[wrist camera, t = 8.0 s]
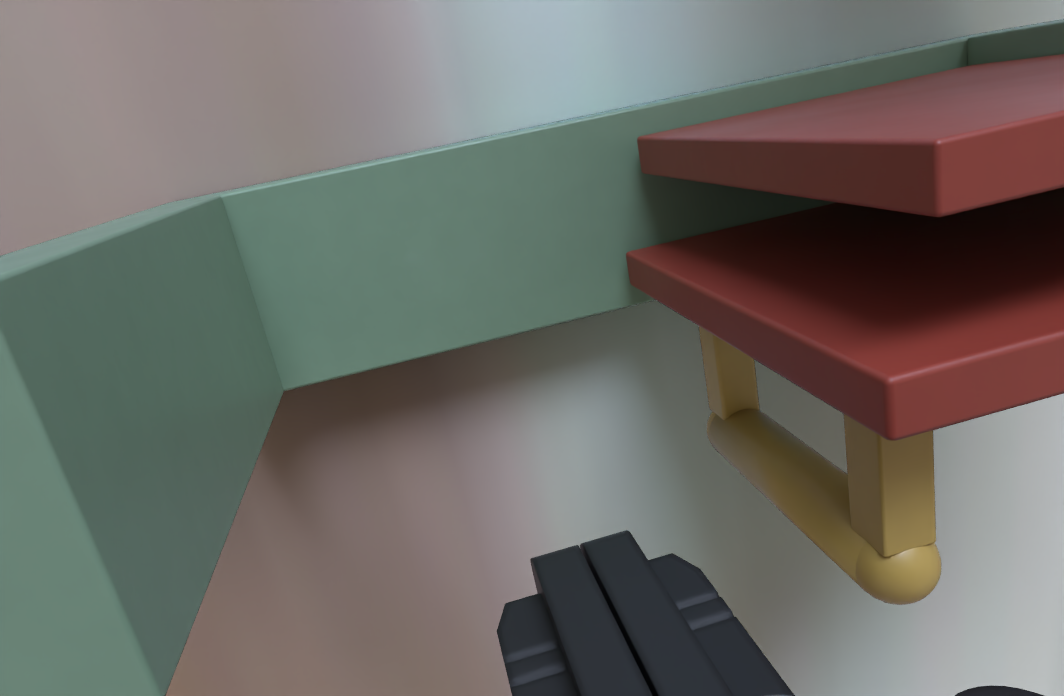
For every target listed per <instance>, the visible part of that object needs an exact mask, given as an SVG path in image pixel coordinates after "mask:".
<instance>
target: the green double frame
mask: <svg viewBox="0 0 1064 696" xmlns="http://www.w3.org/2000/svg"><path fill="white" fill-rule="evenodd" d="M1059 188H1064V19H1061V20H1055V21H1049V22H1043V23H1037V24H1031V25H1026V26H1020V27H1014V28H1008V29H1002V30H996V31H991V32H985V33H979V34H973V35H968V36H964V37H959V38H954V39H949V40H945V41H940V42H935V43H930V44H925V45H921V46H916V47H911V48H906V49H902V50H897V51H892V52H887V53H882V54H878V55H873V56H868V57H863V58H859V59H854V60H849V61H844V62H839V63H835V64H830V65H825V66H820V67H816V68H811V69H806V70H801V71H796V72H792V73H787V74H782V75H777V76H773V77H768V78H763V79H758V80H753V81H749V82H744V83H739V84H734V85H730V86H725V87H720V88H715V89H710V90H706V91H701V92H696V93H691V94H687V95H682V96H677V97H672V98H667V99H663V100H658V101H653V102H648V103H644V104H639V105H634V106H629V107H624V108H620V109H615V110H610V111H605V112H601V113H596V114H591V115H586V116H581V117H577V118H572V119H567V120H562V121H558V122H553V123H548V124H543V125H538V126H534V127H529V128H524V129H519V130H514V131H510V132H505V133H500V134H495V135H491V136H486V137H481V138H476V139H471V140H467V141H462V142H457V143H452V144H448V145H443V146H438V147H433V148H428V149H424V150H419V151H414V152H409V153H405V154H400V155H395V156H390V157H385V158H381V159H376V160H371V161H366V162H362V163H357V164H352V165H347V166H342V167H338V168H333V169H328V170H323V171H319V172H314V173H309V174H304V175H299V176H295V177H290V178H285V179H280V180H276V181H271V182H266V183H261V184H256V185H252V186H247V187H242V188H237V189H233V190H228V191H223V192H218V193H213V194H209V195H204V196H199V197H194V198H190V199H185V200H180V201H175V202H170V203H167V204H163V205H160V206H157V207H154V208H151V209H147V210H144V211H141V212H138V213H135V214H132V215H128V216H125V217H122V218H119V219H116V220H113V221H109V222H106V223H103V224H100V225H97V226H94V227H90V228H87V229H84V230H81V231H78V232H75V233H71V234H68V235H65V236H62V237H59V238H56V239H53V240H49V241H46V242H43V243H40V244H37V245H34V246H30V247H27V248H24V249H21V250H18V251H15V252H11V253H8V254H5V255H2V256H0V696H165V695H166V693H167V690H168V687H169V685H170V682H171V680H172V677H173V675H174V672H175V669H176V667H177V664H178V662H179V659H180V657H181V654H182V651H183V649H184V646H185V644H186V641H187V639H188V636H189V633H190V631H191V628H192V626H193V623H194V621H195V618H196V615H197V613H198V610H199V608H200V605H201V603H202V600H203V597H204V595H205V592H206V590H207V587H208V585H209V582H210V580H211V577H212V574H213V572H214V569H215V567H216V564H217V562H218V559H219V556H220V554H221V551H222V549H223V546H224V544H225V541H226V538H227V536H228V533H229V531H230V528H231V526H232V523H233V520H234V518H235V515H236V513H237V510H238V508H239V505H240V502H241V500H242V497H243V495H244V492H245V490H246V487H247V484H248V482H249V479H250V477H251V474H252V472H253V469H254V466H255V464H256V461H257V459H258V456H259V454H260V451H261V448H262V446H263V443H264V441H265V438H266V436H267V433H268V430H269V428H270V425H271V423H272V420H273V418H274V415H275V412H276V410H277V407H278V405H279V402H280V400H281V397H282V394H283V391H287V390H291V389H295V388H299V387H303V386H308V385H312V384H316V383H320V382H324V381H328V380H332V379H336V378H340V377H344V376H348V375H352V374H356V373H361V372H365V371H369V370H373V369H377V368H381V367H385V366H389V365H393V364H397V363H401V362H405V361H410V360H414V359H418V358H422V357H426V356H430V355H434V354H438V353H442V352H446V351H450V350H454V349H459V348H463V347H467V346H471V345H475V344H479V343H483V342H487V341H491V340H495V339H499V338H503V337H507V336H512V335H516V334H520V333H524V332H528V331H532V330H536V329H540V328H544V327H548V326H552V325H556V324H561V323H565V322H569V321H573V320H577V319H581V318H585V317H589V316H593V315H597V314H601V313H605V312H610V311H614V310H618V309H622V308H626V307H630V306H634V305H638V304H642V303H646V302H650V301H654V300H655V299H654V298H652V297H650V296H649V295H647V294H645V293H644V292H642V291H641V290H639V289H637V288H636V287H634V286H632V285H631V283H630V279H629V273H628V266H627V260H626V253H627V252H629V251H633V250H637V249H641V248H646V247H650V246H654V245H658V244H663V243H667V242H671V241H675V240H680V239H684V238H688V237H692V236H697V235H701V234H705V233H709V232H714V231H718V230H722V229H726V228H731V227H735V226H739V225H743V224H748V223H752V222H756V221H760V220H765V219H769V218H773V217H777V216H782V215H786V214H790V213H794V212H799V211H803V210H807V209H811V208H816V207H820V206H824V205H828V204H833V203H837V202H838V203H845V204H851V205H858V206H865V207H871V208H878V209H885V210H892V211H898V212H905V213H912V214H918V215H925V216H932V217H939V218H940V217H944V216H948V215H952V214H956V213H960V212H964V211H968V210H972V209H977V208H981V207H985V206H989V205H993V204H997V203H1001V202H1005V201H1010V200H1014V199H1018V198H1022V197H1026V196H1030V195H1034V194H1038V193H1043V192H1047V191H1051V190H1055V189H1059Z"/></svg>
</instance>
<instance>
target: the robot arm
mask: <svg viewBox="0 0 1064 696" xmlns="http://www.w3.org/2000/svg"><path fill="white" fill-rule="evenodd" d="M531 566H532V571H533V575H534V579H535V584H536V588H537V592H538V594H535V595H532V596H529V597H525V598H522V599H519V600H515V601H512V602H509V603H505V606H504V610H503V613H502V616H501V619H500V622H499V626H498V629H497V634H498V638H499V642H500V646H501V651H502V655H503V659H504V663H505V667H506V671H507V675H508V680H509V684H510V688H511V692H512V696H795V695H794V694H793V693H792V692H791V690H790V689H789V688H788V686H787V685H786V684H785V682H784V681H783V680H782V678H781V677H780V675H779V674H778V673H777V671H776V670H775V669H774V667H773V666H772V665H771V663H770V662H769V661H768V659H767V658H766V657H765V655H764V654H763V653H762V651H761V650H760V649H759V647H758V646H757V645H756V643H755V642H754V641H753V639H752V638H751V637H750V635H749V634H748V633H747V631H746V630H745V628H744V627H743V626H742V624H741V623H740V622H739V620H738V619H737V618H736V617H734V616H733V614H732V611H731V610H730V608H729V607H728V606H727V604H726V603H725V602H724V600H723V599H722V598H721V597H719V596H718V592H717V591H716V590H715V588H714V587H713V585H712V584H711V583H710V581H709V580H708V579H707V577H706V576H705V575H704V573H703V572H702V571H701V569H699V568H698V567H696V566H694V565H692V564H690V563H689V562H687V561H685V560H683V559H682V558H680V557H678V556H676V555H674V554H673V553H672V554H668V555H665V556H662V557H658V558H655V559H651V560H647V558H646V556H645V555H644V553H643V552H642V550H641V549H640V547H639V545H638V544H637V542H636V541H635V539H634V538H633V536H632V535H631V533H630V532H629V531H628V530H626V531H623V532H619V533H616V534H612V535H609V536H606V537H602V538H599V539H595V540H592V541H588V542H585V543H582V544H581V545H580V547H579V546H578V545H576V546H572V547H569V548H565V549H562V550H558V551H555V552H552V553H548V554H545V555H541V556H538V557H535V558H531ZM955 696H1044V695H1040V694H1037V693H1034V692H1031V691H1027V690H1023V689H1019V688H1013V687H1006V686H981V687H976V688H971V689H967V690H965V691H962V692H960V693H958V694H956V695H955Z"/></svg>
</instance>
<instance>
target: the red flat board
mask: <svg viewBox="0 0 1064 696" xmlns="http://www.w3.org/2000/svg"><path fill="white" fill-rule="evenodd" d="M626 260H627V266H628V273H629V279H630V283H631V285H632V286H634V287H636V288H637V289H639V290H641V291H642V292H644V293H645V294H647V295H649V296H650V297H652V298H654V299H655V300H657V301H659V302H660V303H662V304H664V305H665V306H667V307H669V308H670V309H672V310H674V311H675V312H677V313H678V314H680V315H682V316H683V317H685V318H687V319H688V320H690V321H692V322H693V323H695V324H697V325H698V326H699V332H700V340H701V348H702V355H703V363H704V371H705V379H706V386H707V394H708V402H709V408H710V410H712V413H711V414H710V416H709V419H708V422H707V435H708V439H709V441H710V443H711V444H712V446H713V447H714V448H715V449H716V450H717V451H718V452H719V453H720V454H721V455H722V456H723V457H724V458H725V459H726V460H727V461H728V462H729V463H730V464H731V465H732V466H734V467H735V468H736V469H737V470H738V471H739V472H740V473H741V474H742V475H743V476H744V477H745V478H746V479H747V480H748V481H749V482H750V483H751V484H753V485H754V486H755V487H756V488H757V489H758V490H759V491H760V492H761V493H762V494H763V495H764V496H765V497H766V498H767V499H768V500H769V501H770V502H772V503H773V504H774V505H775V506H776V507H777V508H778V509H779V510H780V511H781V512H782V513H783V514H784V515H785V516H786V517H787V518H788V519H789V520H791V521H792V522H793V523H794V524H795V525H796V526H797V527H798V528H799V529H800V530H801V531H802V532H803V533H804V534H805V535H806V536H807V537H808V538H810V539H811V540H812V541H813V542H814V543H815V544H816V545H817V546H818V547H819V548H820V549H821V550H822V551H823V552H824V553H825V554H826V555H827V556H829V557H830V558H831V559H832V560H833V561H834V562H835V563H836V564H837V565H838V566H839V567H840V568H841V569H842V570H843V571H844V572H845V573H846V574H847V575H849V576H850V577H851V578H852V579H853V580H854V581H855V582H856V583H857V584H858V585H859V586H860V587H861V588H862V589H863V590H864V591H866V592H867V593H869V594H870V595H871V596H873V597H874V598H876V599H879V600H881V601H883V602H886V603H891V604H897V605H903V604H910V603H915V602H917V601H920V600H921V599H923V598H925V597H926V596H927V595H928V594H930V593H931V592H932V590H933V589H934V588H935V586H936V585H937V583H938V581H939V578H940V575H941V558H940V555H939V552H938V549H937V547H936V545H935V544H934V543H935V541H936V527H935V490H934V452H933V430H935V429H939V428H943V427H946V426H950V425H953V424H957V423H960V422H964V421H967V420H971V419H974V418H978V417H982V416H985V415H989V414H992V413H996V412H999V411H1003V410H1006V409H1010V408H1013V407H1017V406H1020V405H1024V404H1028V403H1031V402H1035V401H1038V400H1042V399H1045V398H1049V397H1052V396H1056V395H1059V394H1063V393H1064V188H1059V189H1055V190H1051V191H1047V192H1043V193H1038V194H1034V195H1030V196H1026V197H1022V198H1018V199H1014V200H1010V201H1005V202H1001V203H997V204H993V205H989V206H985V207H981V208H977V209H972V210H968V211H964V212H960V213H956V214H952V215H948V216H944V217H940V218H939V217H932V216H925V215H918V214H912V213H905V212H898V211H892V210H885V209H878V208H871V207H865V206H858V205H851V204H845V203H838V202H837V203H833V204H828V205H824V206H820V207H816V208H811V209H807V210H803V211H799V212H794V213H790V214H786V215H782V216H777V217H773V218H769V219H765V220H760V221H756V222H752V223H748V224H743V225H739V226H735V227H731V228H726V229H722V230H718V231H714V232H709V233H705V234H701V235H697V236H692V237H688V238H684V239H680V240H675V241H671V242H667V243H663V244H658V245H654V246H650V247H646V248H641V249H637V250H633V251H629V252H627V253H626ZM754 360H756V361H758V362H759V363H761V364H763V365H764V366H766V367H768V368H769V369H771V370H773V371H774V372H776V373H777V374H779V375H781V376H782V377H784V378H786V379H787V380H789V381H791V382H792V383H794V384H796V385H797V386H799V387H801V388H802V389H804V390H806V391H807V392H809V393H811V394H812V395H814V396H815V397H817V398H819V399H820V400H822V401H824V402H825V403H827V404H829V405H830V406H832V407H834V408H835V409H837V410H839V411H840V412H842V413H844V428H845V443H846V457H847V472H848V475H847V474H846V473H845V472H843V471H842V470H841V469H839V468H838V467H836V466H835V465H834V464H832V463H831V462H830V461H828V460H827V459H826V458H824V457H823V456H821V455H820V454H819V453H817V452H816V451H815V450H813V449H812V448H811V447H809V446H808V445H806V444H805V443H804V442H802V441H801V440H800V439H798V438H797V437H796V436H794V435H793V434H791V433H790V432H789V431H787V430H786V429H785V428H783V427H782V426H780V425H779V424H778V423H776V422H775V421H774V420H772V419H771V418H770V417H768V416H767V415H765V414H764V413H763V412H761V411H760V410H759V401H758V391H757V382H756V373H755V363H754Z"/></svg>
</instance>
